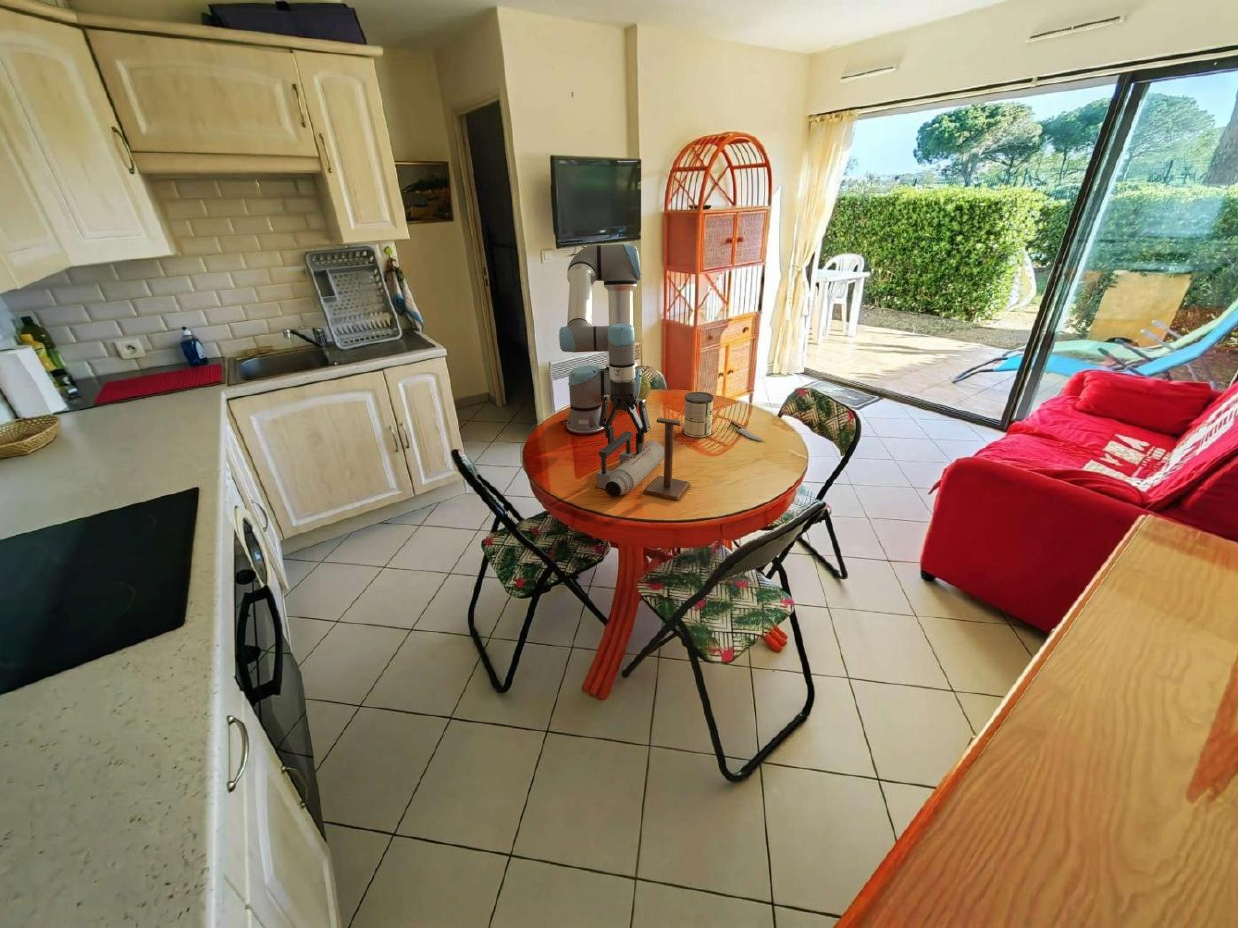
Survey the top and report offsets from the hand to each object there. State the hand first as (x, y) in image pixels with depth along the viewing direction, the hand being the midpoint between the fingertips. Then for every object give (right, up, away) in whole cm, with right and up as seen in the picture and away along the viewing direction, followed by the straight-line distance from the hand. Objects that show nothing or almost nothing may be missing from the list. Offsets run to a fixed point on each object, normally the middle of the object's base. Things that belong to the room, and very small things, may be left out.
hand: (625, 450), depth 158 cm
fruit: (+4, +22, +63) cm, 66 cm away
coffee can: (+27, +7, +32) cm, 43 cm away
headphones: (-2, -8, +1) cm, 9 cm away
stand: (+13, -12, -6) cm, 18 cm away
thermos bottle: (+10, 0, +8) cm, 12 cm away
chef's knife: (+44, +7, +30) cm, 54 cm away
